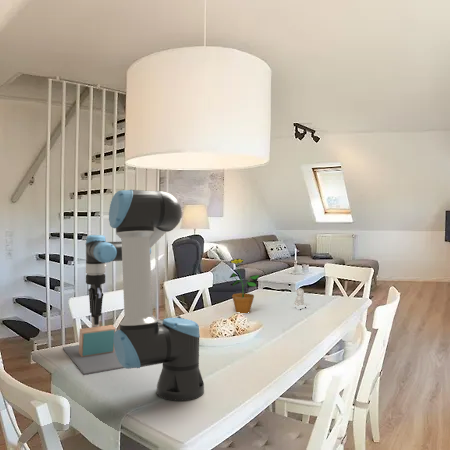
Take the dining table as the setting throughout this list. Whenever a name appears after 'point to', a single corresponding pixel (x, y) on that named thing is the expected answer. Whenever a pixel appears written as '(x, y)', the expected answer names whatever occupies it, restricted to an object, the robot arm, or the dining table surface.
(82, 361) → the mat
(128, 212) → the robot arm
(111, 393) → the dining table surface
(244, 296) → the potted plant
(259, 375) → the dining table surface
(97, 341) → the tan and teal block
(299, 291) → the seated beast figurine
